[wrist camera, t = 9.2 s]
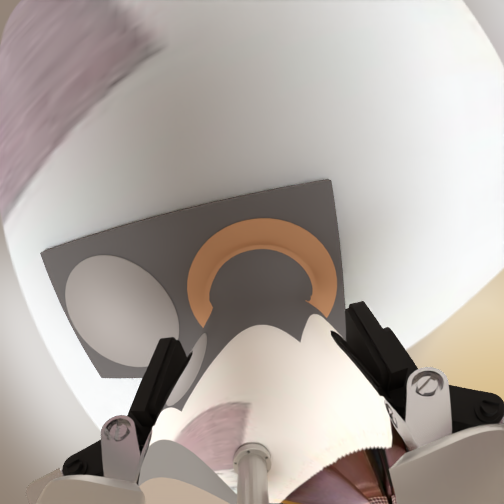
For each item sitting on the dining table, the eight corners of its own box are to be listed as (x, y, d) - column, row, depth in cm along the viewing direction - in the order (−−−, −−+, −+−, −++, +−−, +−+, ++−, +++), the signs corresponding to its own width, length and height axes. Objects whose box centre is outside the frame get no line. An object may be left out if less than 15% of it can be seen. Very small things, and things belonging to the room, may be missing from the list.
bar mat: (45, 250, 15) (39, 253, 15) (328, 179, 14) (331, 180, 13) (104, 373, 19) (101, 378, 18) (344, 342, 18) (346, 349, 17)
